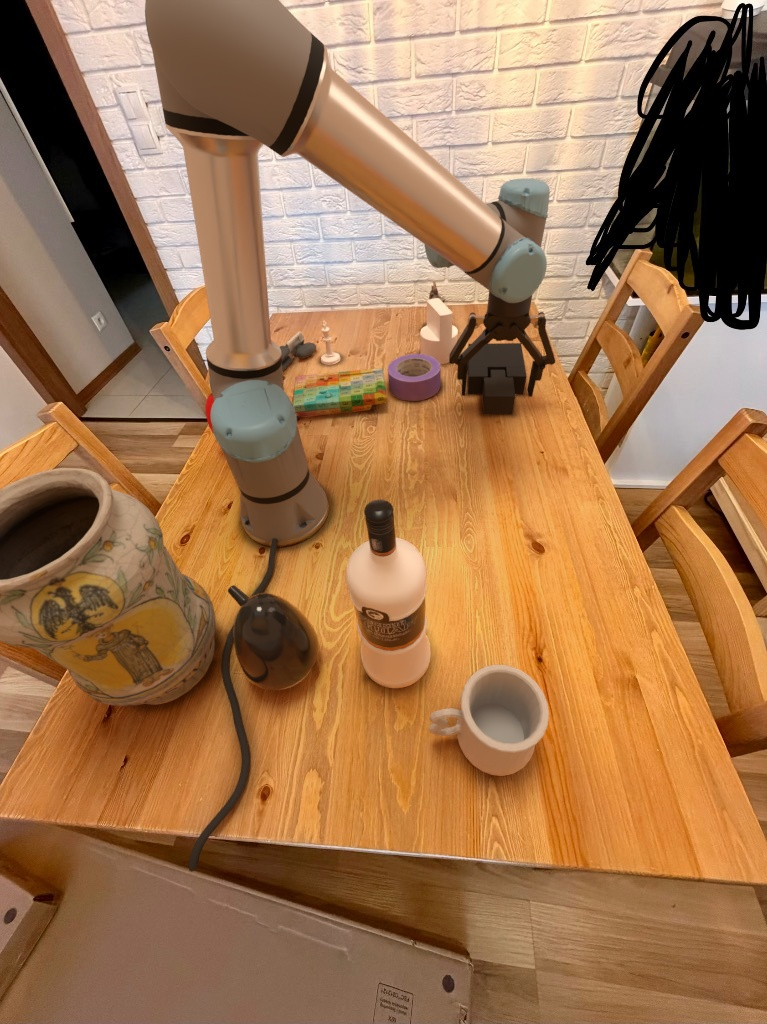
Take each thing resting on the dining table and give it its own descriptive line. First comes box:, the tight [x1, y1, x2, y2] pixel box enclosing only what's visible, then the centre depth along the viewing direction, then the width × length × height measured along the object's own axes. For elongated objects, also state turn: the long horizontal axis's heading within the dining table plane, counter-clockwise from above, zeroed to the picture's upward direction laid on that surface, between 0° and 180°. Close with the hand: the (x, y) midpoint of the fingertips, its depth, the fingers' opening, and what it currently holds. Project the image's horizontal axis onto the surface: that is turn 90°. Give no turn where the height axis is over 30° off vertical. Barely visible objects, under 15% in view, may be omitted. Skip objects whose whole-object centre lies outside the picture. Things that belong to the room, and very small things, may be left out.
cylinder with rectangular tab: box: [419, 298, 459, 365], centre depth 109 cm, size 9×9×12 cm
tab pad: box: [481, 370, 516, 416], centre depth 98 cm, size 10×6×4 cm, turn 174°
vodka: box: [345, 498, 431, 689], centre depth 51 cm, size 9×9×30 cm
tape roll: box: [387, 353, 441, 402], centre depth 104 cm, size 12×12×5 cm
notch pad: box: [467, 342, 528, 395], centre depth 104 cm, size 14×12×4 cm
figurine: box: [425, 280, 446, 326], centre depth 118 cm, size 6×6×12 cm
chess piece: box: [320, 320, 341, 366], centre depth 112 cm, size 5×5×10 cm
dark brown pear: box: [227, 585, 320, 691], centre depth 57 cm, size 10×10×15 cm
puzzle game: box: [292, 367, 388, 418], centre depth 102 cm, size 12×5×20 cm
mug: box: [428, 664, 550, 777], centre depth 51 cm, size 12×9×10 cm
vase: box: [0, 467, 216, 707], centre depth 53 cm, size 18×18×30 cm
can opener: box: [279, 330, 317, 373], centre depth 114 cm, size 19×6×5 cm, turn 153°
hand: (496, 392), depth 96 cm, fingers open, 13 cm apart
